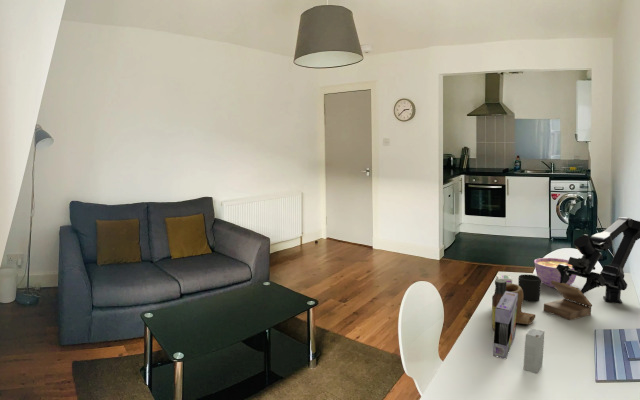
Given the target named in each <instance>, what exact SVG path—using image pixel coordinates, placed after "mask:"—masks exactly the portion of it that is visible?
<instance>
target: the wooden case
mask: <svg viewBox="0 0 640 400" xmlns="http://www.w3.org/2000/svg"><path fill="white" fill-rule="evenodd" d="M543 311H544V312H547V313H550V314H552V315H555V316H558V317H560V318H562V319H566V320H569V321H572V320H575V319H580V318H584V317H587V316H591V315H592V307H588V306H585V305H582V304H579V303H576V302H573V301H570V300H567V299H565V298H561V299H558V300H553V301H548V302H545V303H543Z"/></svg>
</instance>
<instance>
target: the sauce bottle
mask: <svg viewBox="0 0 640 400" xmlns="http://www.w3.org/2000/svg"><path fill="white" fill-rule="evenodd" d="M494 285H495V288H494V294H493V295H492V297H491V298H492V299H491V300H492V301H491V302H492V303H491V322H492V323H491V326H492V327H491V328H492V330H493V332H494V329H495V309H496V306H497V305H498V303H499V301H500V299H501V297H502V296H503V295H504V293H505V291H506V285H507V283H506V281H505V280H501V279H499V280H496V279H495V280H494Z"/></svg>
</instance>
